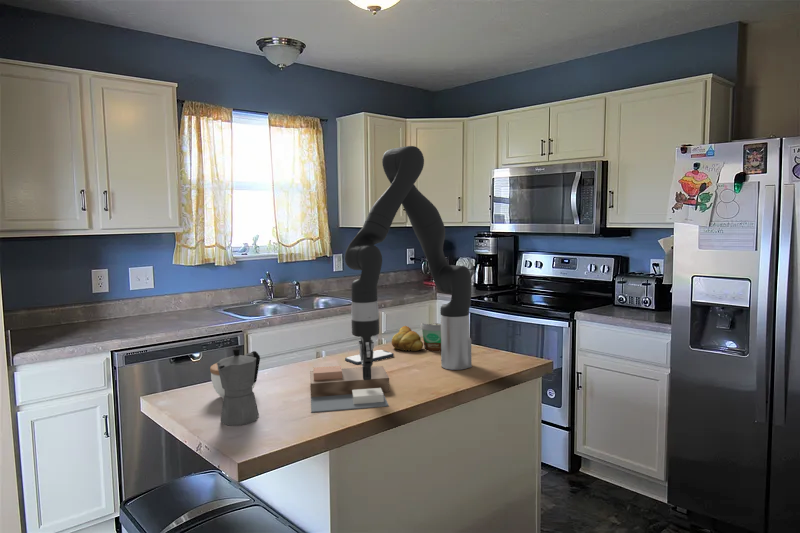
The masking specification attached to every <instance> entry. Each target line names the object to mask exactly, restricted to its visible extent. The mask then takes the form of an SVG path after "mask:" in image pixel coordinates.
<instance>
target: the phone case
mask: <svg viewBox="0 0 800 533" xmlns="http://www.w3.org/2000/svg"><path fill="white" fill-rule="evenodd" d="M393 356H395V354H394V353H393V352H390V351H387V350H384V349H377V350H373V361H374V362H378V361H383V360H387V359H391V358H390V357H392V358H394V357H393ZM386 358H387V359H386ZM382 359H383V360H382ZM377 360H378V361H377ZM344 361H345V362H348V363H351V364H354V365H357V366H359V365H362V364H361V357H360V353H358V354H355V355H351V356H346V357H345V358H344Z"/></svg>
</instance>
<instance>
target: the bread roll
mask: <svg viewBox="0 0 800 533" xmlns="http://www.w3.org/2000/svg"><path fill="white" fill-rule="evenodd" d="M421 339H422V338H421V335H420V334H419V333H417V332H416V331H414V330H412V329H411V327H409V326H407V325H404V326H401V327H400V329H399V330H398V332H396V333H395V334H394V335H393V336H392V339H391V345H392V347H393V348H394V349H397V350H401V351H404V350H405V351H407V350H408V351H410V350H411V352H417V351H420V350H422V349H423V348H424V347H423V346H424V342H423V341H422V340H421ZM408 351H407V352H408Z"/></svg>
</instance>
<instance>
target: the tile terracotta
mask: <svg viewBox="0 0 800 533" xmlns="http://www.w3.org/2000/svg"><path fill="white" fill-rule="evenodd" d="M312 369H313V370H312V371H313V372H314V380H324V379H338V378H342V369H343V368H342V366H341V365H335V366H333V365H331V366H318V367H316V366H315V367H313V368H312Z"/></svg>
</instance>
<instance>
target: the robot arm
mask: <svg viewBox="0 0 800 533" xmlns="http://www.w3.org/2000/svg"><path fill="white" fill-rule="evenodd" d="M381 160H382V167H383V172H384V174H385V176H386V177H387V179H388V181H389V183H390V186H389V187H388V188H387V189H386V190H385V191H384V192H383V193H382V194H381V196H380V197H379V198H378V199H377V200H376V201H375V202H374V204H373V205H372V206H371V208H370V210H369V212H368V214H367V216H366V218H365V221H364V222H363V225H362V228H360V230H359V231H358V232H357V234H356V235H355V236H354V237H353V239H352V240H351V242H350V243H349V244H348V245H347V248H346V250H345V254H344V261H345V264H346V266H347V267H348V268H349V269H350V270H353V271H361V272H360V277H359V278H358V279H355V280H353V281H352V282H351V291H350V292H351V308H350V309H351V310H350V314H351V315H350V319H351V335H352V336H354V337H359V338H360V340H358V341H357V343H358V344H357V346H358V347H359V348H358V349H359V354H360V357H361V364H360V365H361V366H362V368H363V379H364V380H371V367H373V351H374V348H375V343H374V341H373V339H372V337H373V336H374V337H375V336H377V335H379V333H380V313H379V311H380V310H379V309H380V308H379V303H378V283H379V279H380V274H381V270H382V265H383V256H382V252H381V250H380V249H379V247H378V246H376V244H379V243H382V242H384V240H386V239H387V235H388V234H389V232H390V229H391V226H392V223H393V221H394V219H395V218H396V215H397V213H398V211H399V209H400V207H401V206H403V208H404V211H405V213H406V216H407V217H408V219H409V221H410V225H411V227H412V229H413V231H414V234H415V236H416V237H417V240H418V241H419V244H420V246H421V250H422V251H423V255H424V256H425V258H426V261H427V265H428V267H429V271H430V274H431V276H432V279H433V282H434V285H435V286H436V288H437V290H438V291H439V292H442V293H444V294H450V295H451V298H450V301H449V302H448V303H445V304H442V305H441V306H440V308H439V309H440V312H439V313H440V314H439V315H440V324H441V351H440V354H441V355H440V356H441V358H440V361H441V362H440V363H441V367H442V368H443V369H446V370H453V371H455V370H456V371H457V370H458V371H459V370H465V369H469V368H472V367H473V366H472V338H471V337H470V308H471V303H472V286H473V285H472V284H473V283H472V280H473V279H472V273H471V272H470V269H469V268H468V267H467V266H465V265H458V264H457V265H453V264H449V262H448V260H447V259H446V255H445V253H444V243H445V238H446V227H445V226H446V225H445V224H444V221H443V219H442V217H441V215H440V212H439V210H438V208H437V207H436V205H434V204H433V203H432V201H431V200H430V199H428V197H426V196H425V195H424V194H423V193H422V192H421V191H420V189H418V188H417V187H416V185H415V183H416V181H417V180H418V178H419V176H420V175H422V174H421V173H422V171H423V169H424V166H425V158H424V154H423V152H422V151H421V149H420V148H419V147H417V146H415V145H408V146H402V147H395V148H389V149H388V150H386V151H385V152H384V153H383V155H382V159H381Z"/></svg>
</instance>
